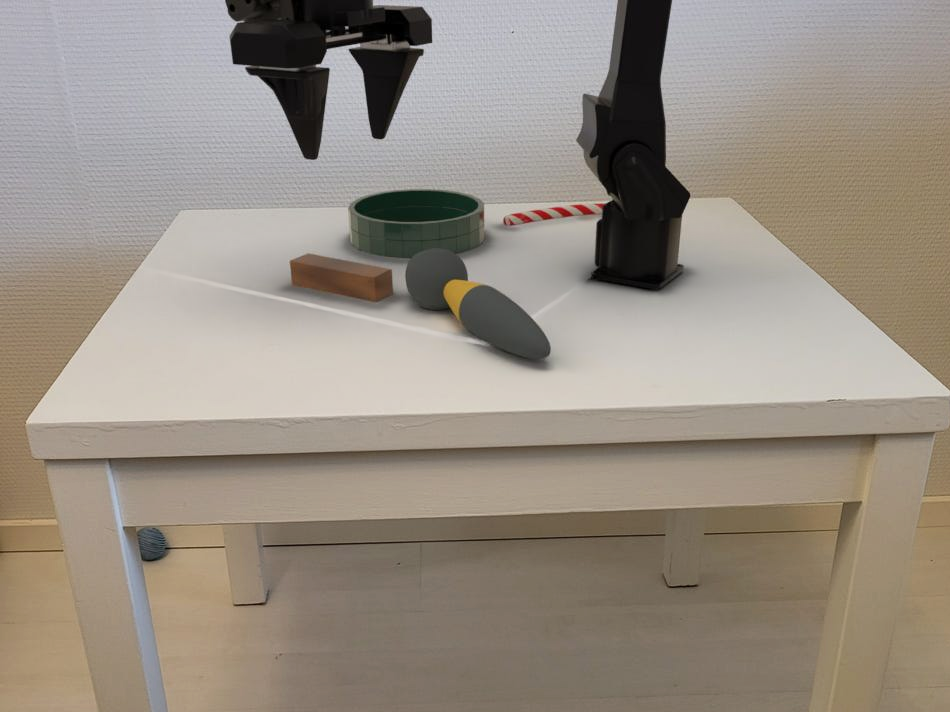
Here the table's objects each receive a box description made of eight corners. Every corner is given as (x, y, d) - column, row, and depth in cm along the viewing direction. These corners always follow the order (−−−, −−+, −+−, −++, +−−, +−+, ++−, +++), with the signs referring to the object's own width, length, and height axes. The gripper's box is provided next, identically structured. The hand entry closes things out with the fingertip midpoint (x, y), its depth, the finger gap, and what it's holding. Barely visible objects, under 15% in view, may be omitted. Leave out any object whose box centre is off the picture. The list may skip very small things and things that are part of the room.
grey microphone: (586, 356, 72) (589, 291, 70) (534, 374, 70) (535, 306, 67) (429, 288, 86) (427, 231, 83) (381, 300, 83) (377, 242, 81)
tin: (508, 234, 100) (508, 198, 98) (437, 269, 90) (436, 230, 88) (401, 217, 106) (399, 183, 104) (323, 248, 96) (320, 211, 94)
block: (393, 297, 84) (392, 269, 83) (376, 306, 82) (374, 277, 81) (310, 280, 88) (307, 252, 87) (292, 288, 86) (289, 260, 85)
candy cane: (497, 206, 105) (634, 200, 107) (497, 219, 105) (633, 212, 107) (512, 227, 98) (657, 219, 100) (512, 239, 98) (656, 231, 101)
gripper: (322, -69, 84) (336, 122, 92) (159, -65, 70) (191, 160, 78) (433, -69, 79) (438, 132, 87) (281, -65, 65) (303, 175, 73)
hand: (346, 148), depth 81 cm, fingers open, 9 cm apart
